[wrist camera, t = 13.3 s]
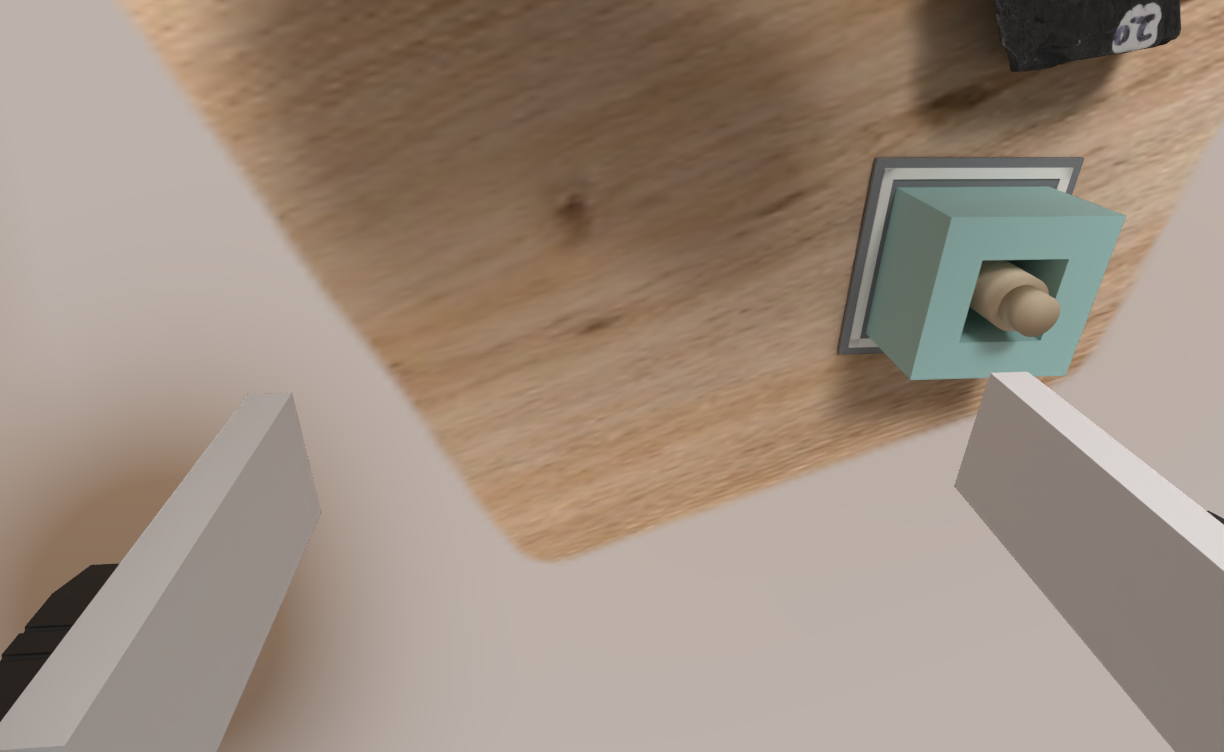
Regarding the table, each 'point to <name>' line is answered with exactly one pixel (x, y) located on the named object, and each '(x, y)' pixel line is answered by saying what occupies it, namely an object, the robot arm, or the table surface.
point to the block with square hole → (949, 267)
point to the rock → (1081, 29)
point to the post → (1014, 299)
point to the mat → (931, 174)
